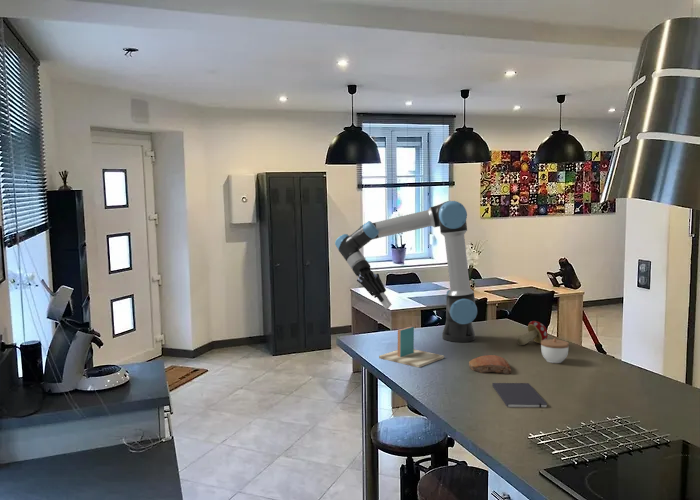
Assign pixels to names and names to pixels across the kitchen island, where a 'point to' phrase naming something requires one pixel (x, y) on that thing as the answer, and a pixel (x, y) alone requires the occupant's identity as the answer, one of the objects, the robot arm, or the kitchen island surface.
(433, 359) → the board
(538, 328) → the decorative mushroom
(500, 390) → the notebook
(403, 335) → the tile
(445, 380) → the kitchen island surface
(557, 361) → the lidded jar
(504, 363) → the ceramic shard
